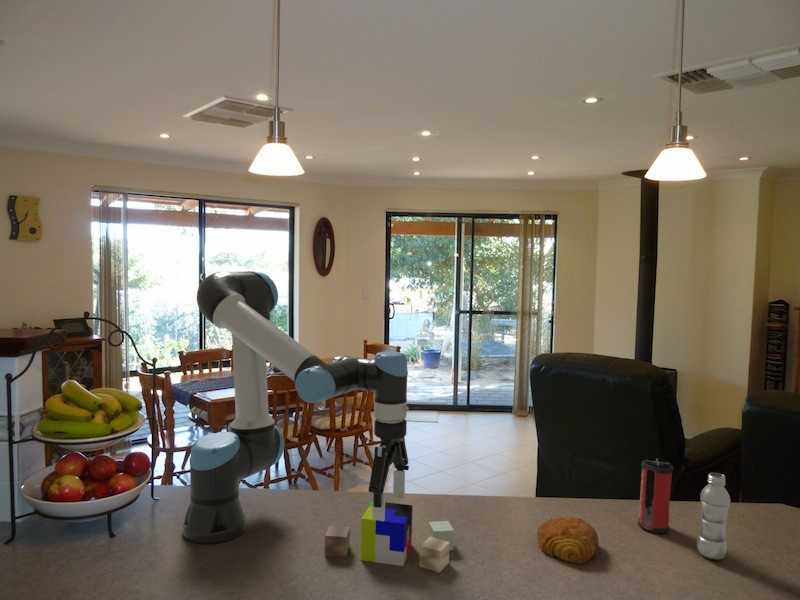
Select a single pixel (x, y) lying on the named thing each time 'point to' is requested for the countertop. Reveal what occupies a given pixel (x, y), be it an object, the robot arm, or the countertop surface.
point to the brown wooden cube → (337, 541)
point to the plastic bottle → (713, 518)
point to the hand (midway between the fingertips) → (389, 507)
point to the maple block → (434, 554)
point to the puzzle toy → (387, 535)
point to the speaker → (655, 495)
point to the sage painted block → (442, 532)
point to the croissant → (568, 539)
